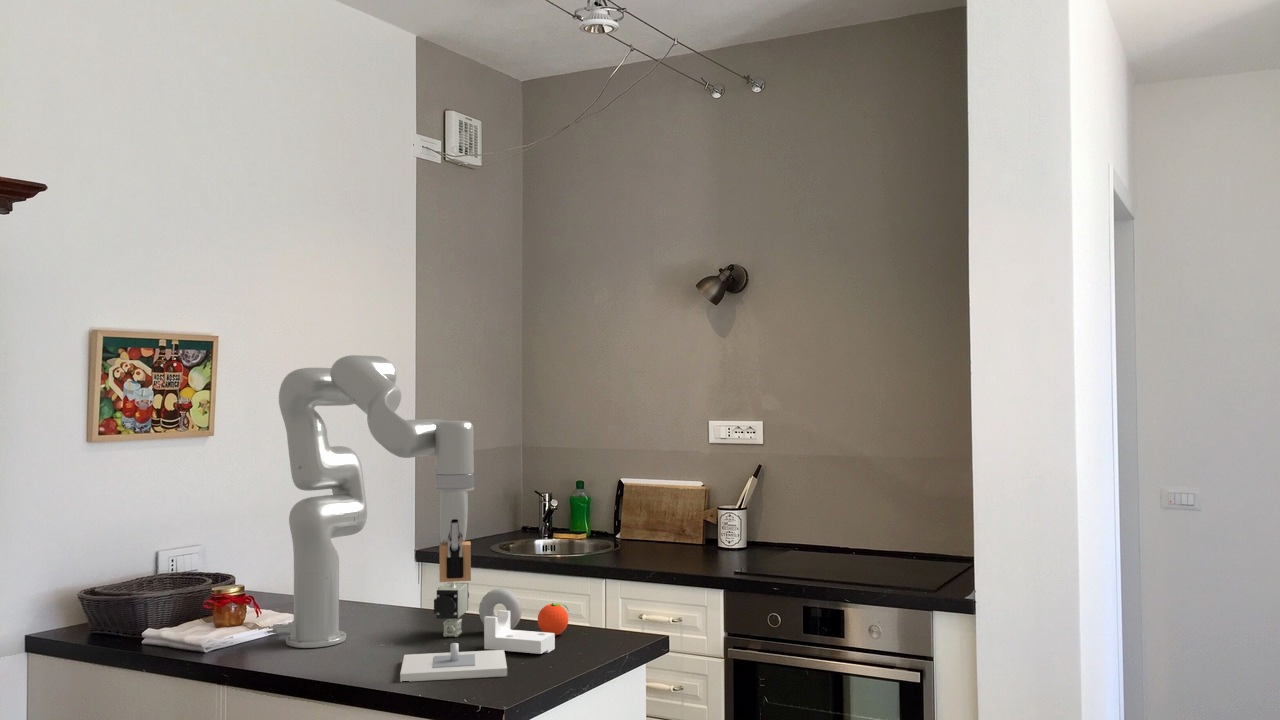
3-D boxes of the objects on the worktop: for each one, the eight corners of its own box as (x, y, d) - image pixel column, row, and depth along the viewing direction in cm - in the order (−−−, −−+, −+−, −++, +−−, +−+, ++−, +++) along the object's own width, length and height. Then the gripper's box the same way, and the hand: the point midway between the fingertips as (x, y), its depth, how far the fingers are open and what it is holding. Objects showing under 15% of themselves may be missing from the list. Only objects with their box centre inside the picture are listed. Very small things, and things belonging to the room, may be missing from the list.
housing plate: (400, 681, 188) (400, 655, 188) (404, 662, 202) (404, 637, 202) (507, 676, 192) (507, 650, 192) (504, 657, 205) (504, 633, 206)
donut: (523, 632, 227) (523, 587, 227) (518, 635, 223) (518, 590, 224) (482, 630, 229) (482, 586, 229) (476, 633, 225) (476, 589, 226)
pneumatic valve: (469, 629, 230) (469, 576, 230) (455, 642, 218) (455, 586, 219) (446, 629, 230) (446, 576, 231) (430, 641, 219) (430, 586, 219)
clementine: (559, 629, 230) (559, 598, 230) (578, 634, 225) (578, 602, 225) (531, 635, 224) (531, 603, 224) (550, 640, 219) (550, 608, 219)
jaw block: (439, 582, 194) (439, 545, 195) (440, 577, 199) (440, 542, 199) (470, 580, 196) (470, 544, 196) (470, 576, 200) (470, 541, 200)
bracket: (484, 653, 210) (484, 617, 210) (499, 645, 216) (499, 610, 217) (540, 658, 206) (540, 621, 206) (554, 649, 212) (554, 614, 212)
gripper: (436, 479, 206) (436, 569, 205) (434, 487, 189) (434, 584, 188) (473, 479, 207) (473, 567, 206) (474, 486, 190) (474, 582, 190)
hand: (455, 574), depth 197 cm, fingers closed on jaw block, 4 cm apart
